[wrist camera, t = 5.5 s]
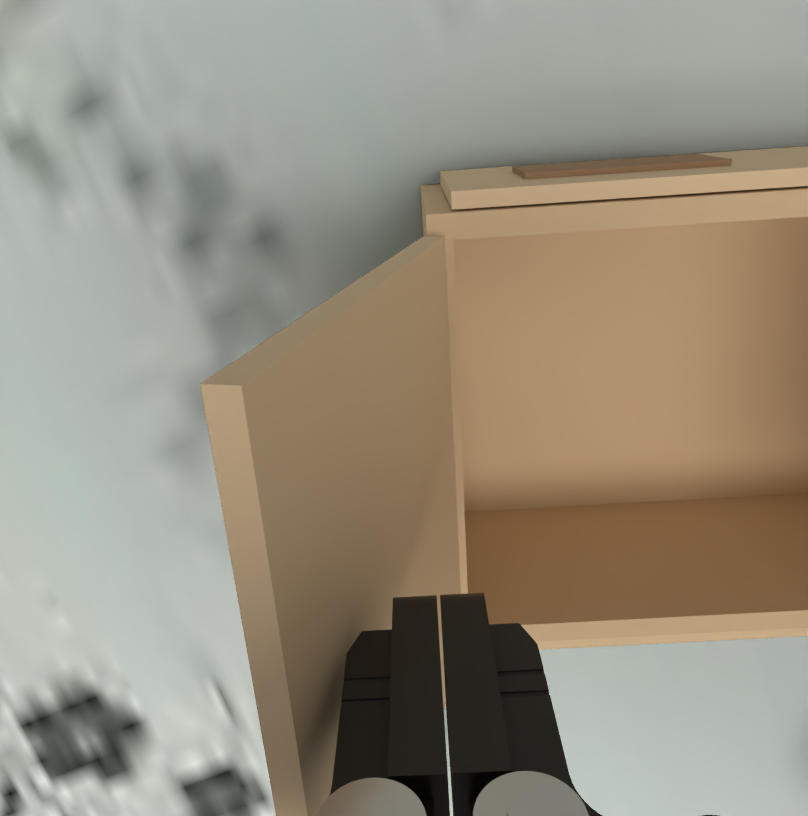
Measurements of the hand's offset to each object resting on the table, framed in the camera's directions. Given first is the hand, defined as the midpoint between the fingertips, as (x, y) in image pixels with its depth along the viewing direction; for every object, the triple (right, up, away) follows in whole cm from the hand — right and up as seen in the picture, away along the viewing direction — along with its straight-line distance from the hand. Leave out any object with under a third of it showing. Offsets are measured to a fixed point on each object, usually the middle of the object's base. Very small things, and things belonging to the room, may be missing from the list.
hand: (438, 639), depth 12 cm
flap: (+1, +3, +7) cm, 7 cm away
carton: (+8, +6, +13) cm, 17 cm away
